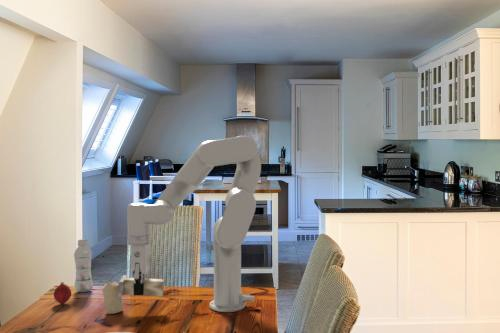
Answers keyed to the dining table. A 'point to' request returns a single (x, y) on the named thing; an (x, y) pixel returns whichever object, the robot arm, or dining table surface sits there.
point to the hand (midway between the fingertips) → (139, 292)
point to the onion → (62, 293)
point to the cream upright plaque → (150, 286)
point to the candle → (112, 297)
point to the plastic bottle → (83, 267)
